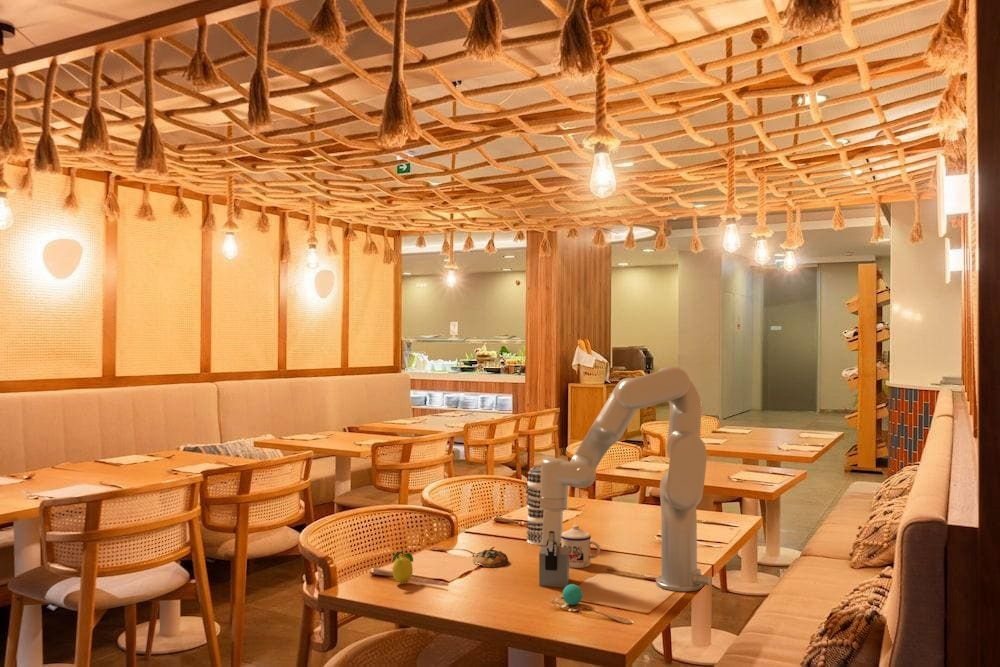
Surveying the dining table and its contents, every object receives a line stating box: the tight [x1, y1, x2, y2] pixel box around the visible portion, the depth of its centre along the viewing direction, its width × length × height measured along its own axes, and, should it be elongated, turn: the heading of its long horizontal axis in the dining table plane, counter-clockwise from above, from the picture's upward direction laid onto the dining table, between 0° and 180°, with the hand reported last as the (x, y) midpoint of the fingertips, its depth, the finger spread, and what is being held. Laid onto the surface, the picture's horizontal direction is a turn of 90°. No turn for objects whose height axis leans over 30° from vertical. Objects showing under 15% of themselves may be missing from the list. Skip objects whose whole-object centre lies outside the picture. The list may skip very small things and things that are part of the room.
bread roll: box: [472, 548, 509, 568], centre depth 228 cm, size 11×11×5 cm
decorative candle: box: [525, 466, 544, 546], centre depth 254 cm, size 9×9×25 cm
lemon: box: [391, 547, 414, 585], centre depth 206 cm, size 7×6×10 cm
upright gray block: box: [538, 545, 570, 588], centre depth 208 cm, size 8×8×9 cm
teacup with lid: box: [561, 524, 601, 569], centre depth 226 cm, size 12×9×12 cm
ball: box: [562, 583, 583, 606], centre depth 189 cm, size 5×5×5 cm
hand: (552, 565), depth 208 cm, fingers open, 9 cm apart
